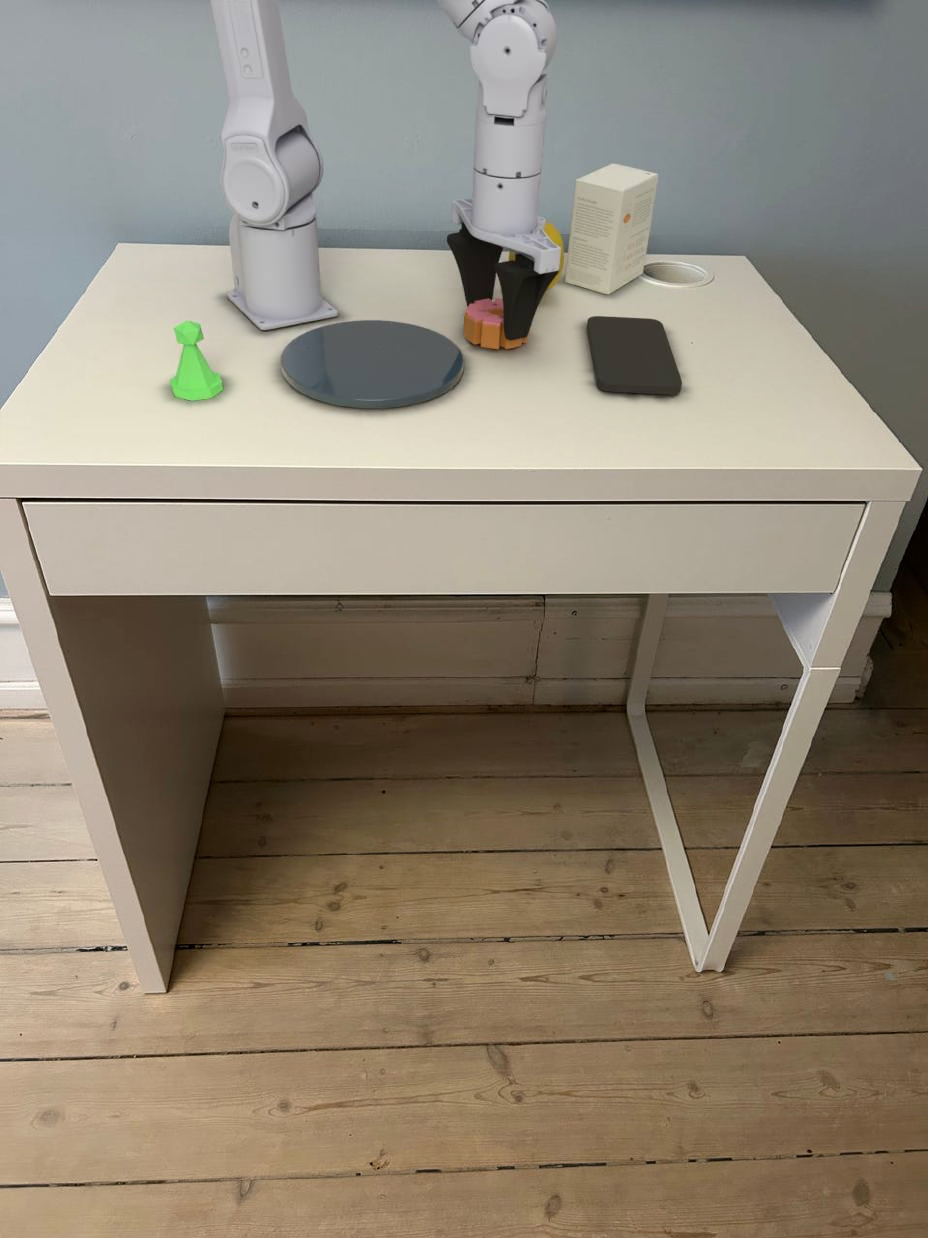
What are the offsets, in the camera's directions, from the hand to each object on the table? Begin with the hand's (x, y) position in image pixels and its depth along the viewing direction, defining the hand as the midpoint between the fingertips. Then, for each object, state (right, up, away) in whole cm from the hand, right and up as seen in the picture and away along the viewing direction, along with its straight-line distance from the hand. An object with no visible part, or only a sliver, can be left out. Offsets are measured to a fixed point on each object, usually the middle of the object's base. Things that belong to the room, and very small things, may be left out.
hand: (497, 324), depth 89 cm
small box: (+12, +9, +14) cm, 21 cm away
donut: (0, -1, +1) cm, 1 cm away
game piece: (-26, -8, -9) cm, 28 cm away
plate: (-11, -5, -4) cm, 13 cm away
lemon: (+4, +5, +9) cm, 12 cm away
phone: (+12, -4, -1) cm, 13 cm away
